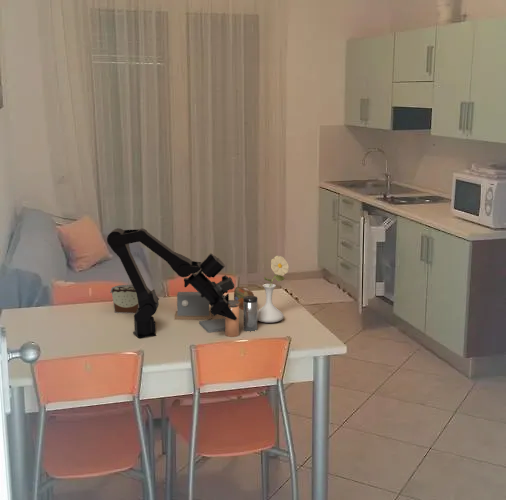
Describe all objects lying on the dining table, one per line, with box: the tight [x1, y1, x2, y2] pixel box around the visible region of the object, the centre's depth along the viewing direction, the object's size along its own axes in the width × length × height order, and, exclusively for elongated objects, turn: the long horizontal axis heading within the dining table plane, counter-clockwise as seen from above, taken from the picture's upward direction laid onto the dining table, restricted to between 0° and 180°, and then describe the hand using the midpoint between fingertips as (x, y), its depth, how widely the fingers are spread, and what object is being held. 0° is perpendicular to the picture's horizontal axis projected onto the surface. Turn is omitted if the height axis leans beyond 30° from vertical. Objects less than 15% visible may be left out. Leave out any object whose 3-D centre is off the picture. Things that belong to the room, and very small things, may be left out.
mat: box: [198, 317, 225, 334], centre depth 254 cm, size 11×11×1 cm
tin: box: [233, 286, 255, 312], centre depth 275 cm, size 15×3×8 cm, turn 25°
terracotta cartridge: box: [224, 299, 240, 338], centre depth 244 cm, size 5×5×12 cm
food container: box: [109, 284, 139, 315], centre depth 271 cm, size 12×6×10 cm, turn 84°
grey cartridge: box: [242, 295, 258, 333], centre depth 250 cm, size 5×5×12 cm
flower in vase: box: [257, 255, 290, 323], centre depth 259 cm, size 13×11×25 cm
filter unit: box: [174, 291, 213, 321], centre depth 265 cm, size 14×8×9 cm, turn 92°
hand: (236, 316), depth 244 cm, fingers open, 5 cm apart
